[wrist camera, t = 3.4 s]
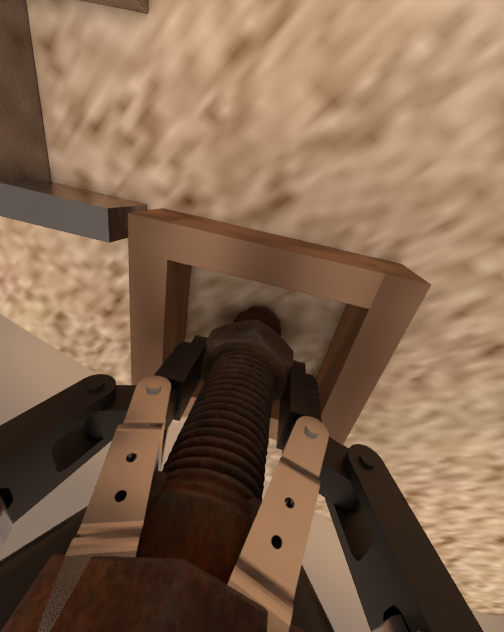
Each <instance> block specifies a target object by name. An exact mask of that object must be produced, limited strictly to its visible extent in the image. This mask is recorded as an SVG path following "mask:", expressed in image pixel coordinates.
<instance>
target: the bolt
mask: <svg viewBox="0 0 504 632" xmlns="http://www.w3.org/2000/svg"><path fill="white" fill-rule="evenodd" d="M261 309H262V307H251V308H249V309H248V310H246V311H244V312H242V313H240V314H239V315H238V316H237V317H236V319H235V320H234V322H233V323H231V324H227V325H224V326H222V327H219V328H217V329H214V330H212V332H211V334H210V335H209V337H208V339H207V340H206V346H205V350H204V354H203V359H202V365H201V381H202V382H203V383H204V384H203V387H202V389H201V391H200V392H199V394H198V396H197V398H196V400H195V402H194V404H193V406H192V408H191V411H190V412H189V415H188V418H187V420H186V421H185V423H184V426H183V428H182V429H181V432H180V433H179V435H178V437H177V440H176V442H175V443H174V446H173V448H172V451H171V452H170V454H169V456H168V460H167V461H166V463H165V464H164V468H163V470H162V472H164V473H168V474H167V476H166V477H167V481H166V482H164V483H163V484H162V486H161V487H162V490H161V491H159V492H158V493H156V494H155V495H154V497H153V499H152V501H151V503H150V505H149V507H148V513H147V518H146V523H145V527H144V532H143V537H142V542H141V547H140V552H139V557H118V556H93V557H91V559H90V561H89V563H88V565H87V566H86V568H85V570H84V572H83V573H82V575H81V577H80V579H79V581H78V582H77V584H76V586H75V588H74V589H73V591H72V593H71V595H70V597H69V598H68V600H67V602H66V604H65V605H64V607H63V609H62V611H61V613H60V615H59V616H58V618H57V620H56V622H55V624H54V625H53V627H52V629H51V631H50V632H267V621H268V611H267V610H266V608H265V607H263V606H261V605H260V604H258V603H256V602H255V601H253V600H251V599H250V598H248V597H246V596H245V595H243V594H241V593H240V592H238V591H236V590H235V589H233V588H231V587H230V586H228V585H227V584H228V582H229V579H230V577H231V574H232V572H233V570H234V567H235V565H236V563H237V560H238V558H239V556H240V553H241V551H242V549H243V546H244V544H245V542H246V539H247V537H248V534H249V532H250V530H251V527H252V521H251V518H250V513H251V514H252V506H251V504H250V503H249V501H248V500H249V499H252V498H255V499H258V500H262V493H263V489H264V486H263V483H264V480H265V477H264V474H265V464H266V455H267V447H268V442H269V440H268V438H269V428H270V418H271V410H272V405H273V404H274V403H276V402H279V401H280V399H281V397H282V395H283V393H284V390H285V387H286V384H287V381H288V378H289V374H290V370H291V366H292V365H293V350H292V349H291V348H290V346H289V345H288V344H287V343H286V342H285V341H284V340H283V339H282V338H281V337H280V335H281V327H280V322H279V319H278V318H277V316H276V315H275V314H274V313H272V312H271V311H270V310H268V309H266V310H265V311H264V310H262V311H261ZM64 558H65V554H54V555H51V557H50V558H49V560H48V561H47V563H46V564H45V566H44V567H43V569H42V570H41V572H40V573H39V575H38V576H37V578H36V579H35V581H34V582H33V584H32V585H31V587H30V588H29V590H28V591H27V593H26V594H25V596H24V597H23V599H22V600H21V602H20V603H19V605H18V606H17V608H16V609H15V611H14V612H13V614H12V615H11V617H10V618H9V620H8V621H7V623H6V624H5V626H4V627H3V629H2V630H1V632H38V629H39V625H40V622H41V619H42V616H43V613H44V610H45V608H46V605H47V602H48V600H49V597H50V595H51V592H52V589H53V587H54V584H55V582H56V579H57V576H58V574H59V571H60V568H61V566H62V563H63V561H64ZM289 632H305V631H303V630H301V629H300V628H298V627H296V626H295V625H293V624H291V623H290V628H289Z"/></svg>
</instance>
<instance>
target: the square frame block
mask: <svg viewBox="0 0 504 632" xmlns="http://www.w3.org/2000/svg"><path fill="white" fill-rule="evenodd" d="M128 244H129V288H130V333H131V377H132V385H137V384H138V383H139V382H140V381H141V380H142V379H144V378H146V377H150V376H154V374H155V373H156V372H157V370H158V369H159V368H160V367H161V365H162V364H163V363H164V361H165V360H166V359H167V358H168V356H169V355H170V354H171V353H172V351H173V350H174V348H175V347H176V346H177V345H179V344H181V343H183V342H184V337H185V326H186V315H187V304H188V293H189V282H190V271H191V266H195V267H199V268H203V269H208V270H212V271H216V272H220V273H224V274H228V275H232V276H236V277H240V278H244V279H248V280H253V281H257V282H261V283H265V284H269V285H273V286H277V287H281V288H285V289H289V290H294V291H298V292H302V293H306V294H310V295H314V296H318V297H322V298H326V299H330V300H335V301H339V302H343V303H347V305H346V308H345V310H344V312H343V315H342V317H341V320H340V322H339V325H338V327H337V330H336V332H335V335H334V337H333V340H332V342H331V345H330V347H329V349H328V352H327V354H326V357H325V359H324V362H323V364H322V367H321V369H320V372H319V374H318V377H317V379H316V381H317V383H318V392H319V401H320V410H321V419H322V423H323V424H324V426H325V427H326V428H327V430H328V433H329V436H330V437H331V438H332V439H334V440H335V441H337V442H338V443H340V444H342V445H343V444H344V442H345V440H346V438H347V436H348V434H349V433H350V431H351V429H352V427H353V425H354V424H355V422H356V420H357V418H358V416H359V415H360V413H361V411H362V409H363V407H364V405H365V404H366V402H367V400H368V398H369V396H370V395H371V393H372V391H373V389H374V387H375V385H376V384H377V382H378V380H379V378H380V376H381V375H382V373H383V371H384V369H385V367H386V366H387V364H388V362H389V360H390V358H391V356H392V355H393V353H394V351H395V349H396V347H397V346H398V344H399V342H400V340H401V338H402V336H403V335H404V333H405V331H406V329H407V327H408V326H409V324H410V322H411V320H412V318H413V317H414V315H415V313H416V311H417V309H418V307H419V306H420V304H421V302H422V300H423V298H424V297H425V295H426V293H427V291H428V289H429V288H430V286H431V284H429V283H428V282H426V281H425V280H424V279H422V278H421V277H419V276H418V275H416V274H415V273H414V272H412V271H411V270H409V269H408V268H406V267H405V266H404V265H402V264H398V263H394V262H390V261H385V260H381V259H377V258H372V257H368V256H364V255H360V254H355V253H351V252H347V251H342V250H338V249H334V248H330V247H325V246H321V245H317V244H313V243H308V242H304V241H300V240H295V239H291V238H287V237H283V236H278V235H274V234H270V233H265V232H261V231H257V230H253V229H248V228H244V227H240V226H236V225H231V224H227V223H223V222H218V221H214V220H210V219H206V218H201V217H197V216H193V215H189V214H184V213H180V212H176V211H171V210H167V209H163V208H162V209H155V210H147V211H140V212H132V213H128ZM203 384H204V383H203V382H202V381H201V380H200V382H199V384H198V386H197V388H196V390H195V391H194V393H193V395H192V397H191V399H190V401H189V403H188V405H187V407H186V409H185V411H184V413H183V414H185V415H189V412H190V411H191V408H192V406H193V404H194V402H195V400H196V398H197V396H198V394H199V392H200V391H201V389H202V387H203ZM279 408H280V401H279V402H276V403H274V404H273V405H272V410H271V418H270V428H269V438H272V439H276V440H277V433H278V421H279Z"/></svg>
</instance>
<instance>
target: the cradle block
mask: <svg viewBox="0 0 504 632" xmlns="http://www.w3.org/2000/svg"><path fill="white" fill-rule="evenodd" d="M82 1H88V2H93V3H98V4H103V5H108V6H113V7H118V8H124V9H129V10H134V11H139V12H144V13H148V0H82ZM140 211H146V204H141V203H137V202H133V201H129V200H124V199H120V198H116V197H112V196H107V195H103V194H99V193H94V192H90V191H86V190H82V189H77V188H73V187H69V186H64V185H60V184H56V183H52V182H51V177H50V170H49V163H48V156H47V149H46V143H45V136H44V129H43V122H42V115H41V108H40V101H39V94H38V87H37V80H36V73H35V66H34V59H33V52H32V45H31V38H30V31H29V24H28V17H27V10H26V3H25V0H0V216H2V217H6V218H11V219H15V220H19V221H23V222H27V223H31V224H35V225H39V226H43V227H47V228H52V229H56V230H60V231H64V232H68V233H72V234H76V235H80V236H84V237H89V238H93V239H97V240H101V241H105V242H109V243H110V242H113V241H117V240H121V239H124V238H128V213H132V212H140Z"/></svg>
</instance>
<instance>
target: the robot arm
mask: <svg viewBox="0 0 504 632" xmlns="http://www.w3.org/2000/svg"><path fill="white" fill-rule="evenodd" d="M207 339H208V338H206V337H202V336H198V335H196V336H195V338H194V339H193V341H192V342H191V343H188V342H183V343H181V344H179V345H177V346H176V347H175V348H174V350H173V351H172V353H171V354H170V355H169V356H168V358H167V359H166V360H165V361H164V363H163V364H162V365H161V367H160V368H159V369H158V370H157V372H156V373H155V374H154V376H150V377H146V378H144V379H142V380H141V381H140V382H139V383H138V384H137V385H116V381H115V379H114V378H113V377H111V376H109V375H105V374H97V375H92V376H89V377H87V378H84V379H83V380H81V381H79V382H77V383H76V384H74V385H72V386H70V387H68V388H67V389H65V390H63V391H61V392H59V393H58V394H56V395H54V396H52V397H51V398H49V399H47V400H45V401H44V402H42V403H40V404H38V405H36V406H35V407H33V408H31V409H29V410H27V411H26V412H24V413H22V414H20V415H18V416H17V417H15V418H13V419H11V420H9V421H8V422H6V423H4V424H2V425H1V426H0V549H1V547H2V546H3V545H4V544H5V542H6V541H7V539H8V537H9V535H10V533H11V530H12V524H13V523H14V522H16V521H17V520H18V519H19V518H20V517H21V516H23V515H24V514H25V513H26V512H27V511H28V510H30V509H31V508H32V507H33V506H35V504H37V503H38V502H39V501H40V500H42V499H43V498H44V497H45V496H46V495H47V494H49V493H50V492H51V491H52V490H54V489H55V488H56V487H57V486H58V485H59V484H61V483H62V482H63V481H64V480H65V479H66V478H68V477H69V476H70V475H71V474H72V473H74V472H75V471H76V470H77V469H78V468H80V467H81V466H82V465H83V464H84V463H86V462H87V461H88V460H89V459H90V458H91V457H92V456H94V455H95V454H96V453H97V452H99V451H100V450H101V449H102V448H103V447H105V446H106V445H107V444H108V443H109V442H110V441H112V442H111V445H110V448H109V450H108V453H107V456H106V459H105V461H104V464H103V467H102V469H101V472H100V475H99V477H98V480H97V483H96V485H95V488H94V491H93V494H92V496H91V499H90V502H89V504H88V506H87V507H85V508H84V509H82V510H80V511H79V512H77V513H76V514H74V515H73V516H71V517H69V518H68V519H66V520H64V521H63V522H61V523H60V524H58V525H57V526H55V527H53V528H52V529H50V530H49V531H47V532H45V533H44V534H42V535H41V536H39V537H37V538H36V539H34V540H33V541H31V542H30V543H28V544H26V545H25V546H23V547H22V548H20V549H18V550H17V551H15V552H14V553H12V554H10V555H9V556H7V557H6V558H4V559H2V560H1V561H0V632H1V630H2V629H3V627H4V626H5V624H6V623H7V621H8V620H9V618H10V617H11V615H12V614H13V612H14V611H15V609H16V608H17V606H18V605H19V603H20V602H21V600H22V599H23V597H24V596H25V594H26V593H27V591H28V590H29V588H30V587H31V585H32V584H33V582H34V581H35V579H36V578H37V576H38V575H39V573H40V572H41V570H42V569H43V567H44V566H45V564H46V563H47V561H48V560H49V558H50V557H51V555H54V554H65V558H64V561H63V563H62V566H61V568H60V571H59V574H58V576H57V579H56V582H55V584H54V587H53V589H52V592H51V595H50V597H49V600H48V602H47V605H46V608H45V610H44V613H43V616H42V619H41V622H40V625H39V629H38V632H50V631H51V629H52V627H53V625H54V624H55V622H56V620H57V618H58V616H59V615H60V613H61V611H62V609H63V607H64V605H65V604H66V602H67V600H68V598H69V597H70V595H71V593H72V591H73V589H74V588H75V586H76V584H77V582H78V581H79V579H80V577H81V575H82V573H83V572H84V570H85V568H86V566H87V565H88V563H89V561H90V559H91V557H93V556H118V557H139V552H140V547H141V542H142V537H143V532H144V527H145V523H146V518H147V513H148V507H149V505H150V503H151V501H152V499H153V497H154V495H155V494H156V493H158V492H159V491H161V490H162V487H161V486H162V484H163V483H164V482H166V481H167V477H166V476H167V474H168V473H164V472H161V469H162V463H163V458H164V452H165V446H166V439H167V434H168V427H169V425H170V424H171V422H172V420H173V419H174V420H178V421H180V419H181V417H182V415H183V413H184V411H185V409H186V407H187V405H188V403H189V401H190V399H191V397H192V395H193V393H194V391H195V390H196V388H197V386H198V384H199V382H200V380H201V365H202V359H203V354H204V350H205V346H206V340H207ZM276 448H278V449H282V456H281V458H280V461H279V463H278V465H277V468H276V470H275V473H274V475H273V477H272V480H271V482H270V484H269V487H268V489H267V492H266V494H265V496H264V499H263V501H262V500H258V499H255V498H252V499H249V500H248V501H249V503H250V504H251V506H252V514H251V513H250V518H251V521H252V527H251V530H250V532H249V534H248V537H247V539H246V542H245V544H244V546H243V549H242V551H241V553H240V556H239V558H238V560H237V563H236V565H235V567H234V570H233V572H232V574H231V577H230V579H229V582H228V584H227V585H228V586H230V587H231V588H233V589H235V590H236V591H238V592H240V593H241V594H243V595H245V596H246V597H248V598H250V599H251V600H253V601H255V602H256V603H258V604H260V605H261V606H263V607H265V608H266V610H267V611H268V621H267V632H289V628H290V623H291V624H293V625H295V626H296V627H298V628H300V629H301V630H303V631H305V632H334V630H333V628H332V626H331V623H330V621H329V619H328V617H327V615H326V613H325V611H324V609H323V607H322V605H321V603H320V601H319V599H318V597H317V595H316V593H315V590H314V589H313V586H312V584H311V582H310V580H309V578H308V576H307V574H306V572H305V570H304V568H303V566H302V561H303V556H304V552H305V548H306V544H307V539H308V535H309V531H310V527H311V522H312V518H313V514H314V510H315V505H316V501H317V497H318V493H319V494H320V495H322V496H323V497H325V500H326V503H327V506H328V509H329V512H330V515H331V518H332V520H333V523H334V526H335V529H336V532H337V535H338V538H339V541H340V544H341V546H342V549H343V552H344V555H345V558H346V561H347V564H348V567H349V570H350V573H351V575H352V578H353V581H354V584H355V587H356V590H357V593H358V596H359V599H360V601H361V604H362V607H363V610H364V613H365V616H366V619H367V622H368V624H369V627H370V630H371V632H483V630H482V628H481V627H480V625H479V623H478V622H477V620H476V618H475V617H474V615H473V613H472V611H471V610H470V608H469V606H468V605H467V603H466V601H465V600H464V598H463V596H462V594H461V593H460V591H459V589H458V588H457V586H456V584H455V583H454V581H453V579H452V578H451V576H450V574H449V572H448V571H447V569H446V567H445V566H444V564H443V562H442V561H441V559H440V557H439V556H438V554H437V552H436V550H435V549H434V547H433V545H432V544H431V542H430V540H429V539H428V537H427V535H426V533H425V532H424V530H423V528H422V527H421V525H420V523H419V522H418V520H417V518H416V517H415V515H414V513H413V511H412V510H411V508H410V506H409V505H408V503H407V501H406V500H405V498H404V496H403V495H402V493H401V491H400V489H399V488H398V486H397V484H396V483H395V481H394V479H393V478H392V476H391V474H390V473H389V471H388V469H387V467H386V466H385V464H384V462H383V461H382V459H381V458H380V456H379V455H378V454H377V453H376V452H375V451H373V450H372V449H370V448H369V447H367V446H364V445H361V444H355V445H352V446H351V447H350V448H347V447H345V446H344V445H342V444H340V443H338V442H337V441H335V440H334V439H332V438H331V437H330V436H329V433H328V430H327V428H326V427H325V426H324V424H323V423H322V419H321V410H320V401H319V392H318V383H317V381H316V380H315V378H314V376H313V375H310V374H306V371H305V363H302V362H298V361H294V360H293V365H292V366H291V370H290V374H289V378H288V381H287V384H286V387H285V390H284V393H283V395H282V397H281V399H280V408H279V421H278V433H277V446H276Z"/></svg>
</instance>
